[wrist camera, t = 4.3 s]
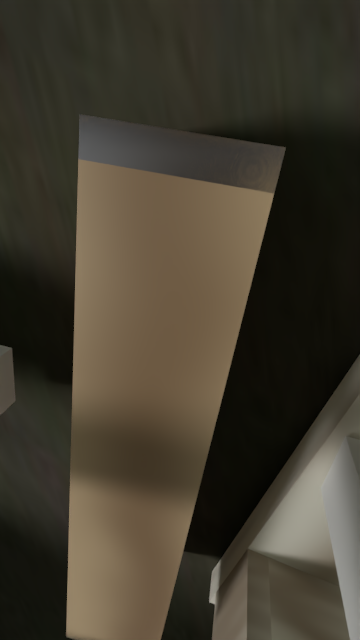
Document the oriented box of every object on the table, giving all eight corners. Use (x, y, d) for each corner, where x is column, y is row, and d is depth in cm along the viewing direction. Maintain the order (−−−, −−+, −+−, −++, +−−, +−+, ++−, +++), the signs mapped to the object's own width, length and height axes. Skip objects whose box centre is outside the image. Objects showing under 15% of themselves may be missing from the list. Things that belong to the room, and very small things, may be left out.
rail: (108, 529, 20) (66, 636, 15) (148, 136, 11) (79, 114, 7) (176, 549, 19) (153, 666, 15) (271, 157, 11) (286, 147, 6)
